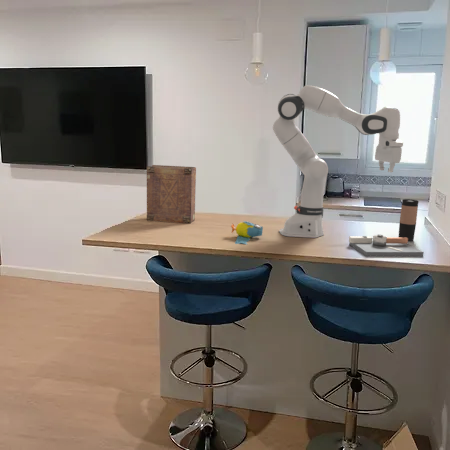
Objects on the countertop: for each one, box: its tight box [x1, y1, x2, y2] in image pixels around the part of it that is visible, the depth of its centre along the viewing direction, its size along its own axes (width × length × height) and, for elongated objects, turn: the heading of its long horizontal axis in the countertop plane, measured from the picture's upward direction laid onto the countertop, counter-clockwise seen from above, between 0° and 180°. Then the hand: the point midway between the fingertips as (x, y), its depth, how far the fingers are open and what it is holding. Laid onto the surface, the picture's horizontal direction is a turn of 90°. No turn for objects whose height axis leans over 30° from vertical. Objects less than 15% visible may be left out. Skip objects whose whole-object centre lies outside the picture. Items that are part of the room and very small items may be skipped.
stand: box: [348, 235, 424, 258], centre depth 216 cm, size 27×20×5 cm
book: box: [146, 164, 197, 224], centre depth 263 cm, size 25×9×30 cm, turn 79°
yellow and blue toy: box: [230, 220, 264, 245], centre depth 232 cm, size 28×9×15 cm
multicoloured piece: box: [372, 234, 409, 246], centre depth 218 cm, size 16×6×4 cm, turn 96°
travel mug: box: [398, 198, 419, 243], centre depth 236 cm, size 8×8×20 cm
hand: (385, 171), depth 229 cm, fingers open, 8 cm apart
